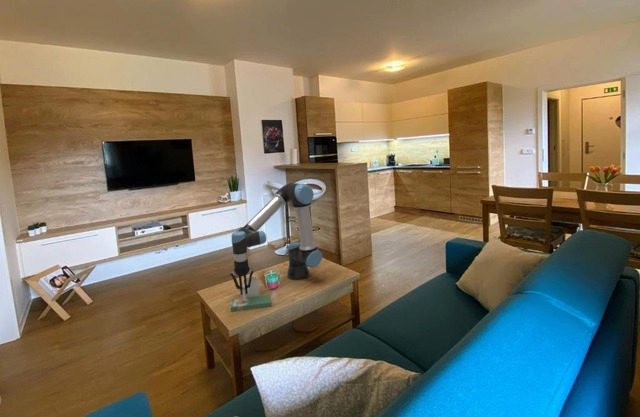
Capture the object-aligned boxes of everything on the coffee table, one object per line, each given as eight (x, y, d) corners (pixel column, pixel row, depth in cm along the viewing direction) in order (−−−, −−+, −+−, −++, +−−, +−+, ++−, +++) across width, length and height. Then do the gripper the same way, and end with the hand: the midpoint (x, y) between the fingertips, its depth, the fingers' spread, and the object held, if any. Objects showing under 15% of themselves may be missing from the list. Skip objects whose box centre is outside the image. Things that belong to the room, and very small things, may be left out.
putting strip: (270, 298, 198) (270, 294, 197) (271, 306, 188) (271, 302, 188) (232, 303, 194) (232, 299, 194) (231, 311, 184) (230, 307, 184)
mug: (237, 299, 199) (235, 282, 197) (253, 292, 208) (252, 275, 206) (246, 303, 194) (244, 285, 191) (262, 295, 202) (261, 278, 200)
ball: (243, 299, 191) (237, 299, 191) (242, 301, 188) (236, 301, 188) (243, 305, 191) (237, 305, 191) (242, 307, 188) (236, 307, 188)
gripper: (252, 256, 190) (256, 295, 194) (229, 258, 188) (233, 298, 192) (252, 260, 183) (256, 300, 187) (228, 263, 180) (232, 304, 185)
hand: (244, 299), depth 190 cm, fingers closed
